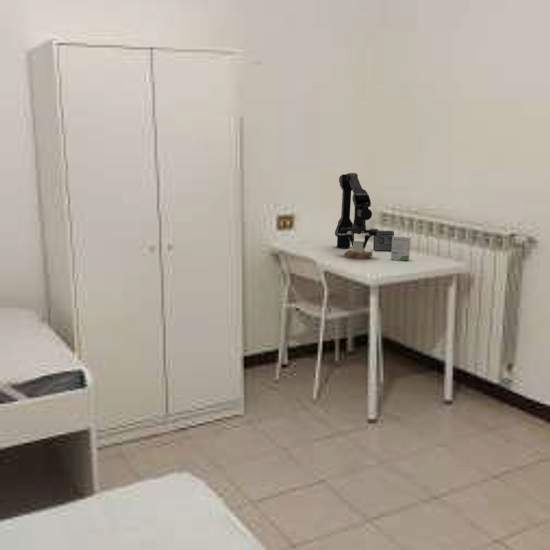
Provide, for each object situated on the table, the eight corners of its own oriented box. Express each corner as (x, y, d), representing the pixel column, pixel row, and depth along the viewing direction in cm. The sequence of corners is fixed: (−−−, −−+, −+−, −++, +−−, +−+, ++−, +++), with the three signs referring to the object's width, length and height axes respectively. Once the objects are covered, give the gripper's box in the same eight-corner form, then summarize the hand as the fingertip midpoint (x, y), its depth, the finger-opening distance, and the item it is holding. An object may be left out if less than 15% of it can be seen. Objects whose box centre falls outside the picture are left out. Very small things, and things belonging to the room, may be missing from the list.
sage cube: (352, 252, 357) (352, 242, 356) (354, 250, 362) (355, 240, 361) (362, 253, 356) (362, 243, 355) (364, 251, 360) (364, 241, 359)
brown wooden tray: (344, 257, 357) (344, 252, 356) (349, 254, 366) (349, 249, 365) (367, 259, 353) (368, 254, 352) (372, 256, 362) (372, 251, 361)
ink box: (390, 259, 352) (391, 236, 350) (392, 258, 357) (393, 235, 355) (407, 261, 350) (409, 237, 347) (409, 259, 354) (410, 236, 352)
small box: (392, 249, 381) (393, 230, 379) (393, 251, 375) (394, 232, 373) (373, 249, 382) (373, 229, 380) (373, 251, 376) (374, 231, 374)
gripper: (337, 218, 351) (336, 249, 354) (375, 220, 345) (373, 252, 348) (343, 215, 361) (342, 245, 364) (379, 217, 355) (378, 248, 358)
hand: (358, 248), depth 358 cm, fingers open, 5 cm apart
